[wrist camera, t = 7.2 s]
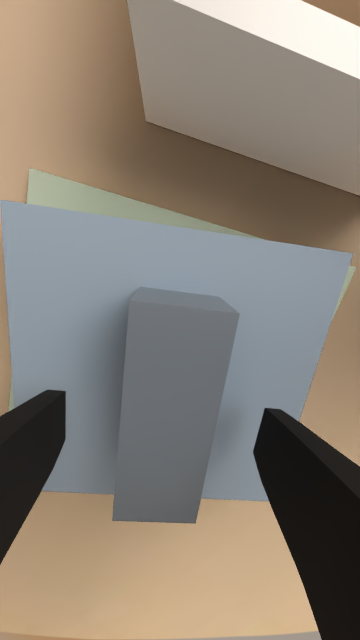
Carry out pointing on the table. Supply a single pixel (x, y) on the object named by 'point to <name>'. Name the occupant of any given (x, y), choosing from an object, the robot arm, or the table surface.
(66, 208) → the mat
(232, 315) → the lid
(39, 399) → the robot arm
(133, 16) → the storage box
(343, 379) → the table surface
